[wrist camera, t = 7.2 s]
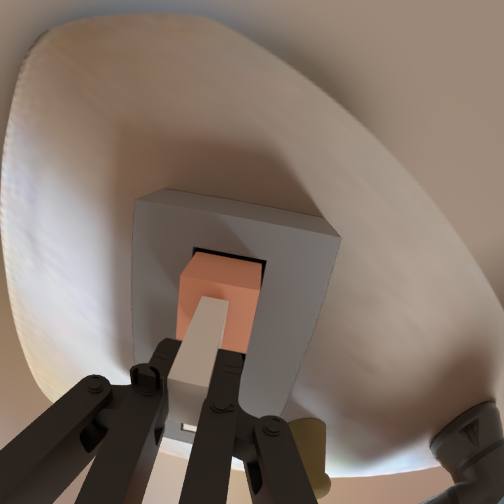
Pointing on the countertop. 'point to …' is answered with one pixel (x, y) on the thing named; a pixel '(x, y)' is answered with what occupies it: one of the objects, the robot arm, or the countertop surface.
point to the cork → (312, 452)
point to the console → (271, 291)
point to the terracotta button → (221, 295)
